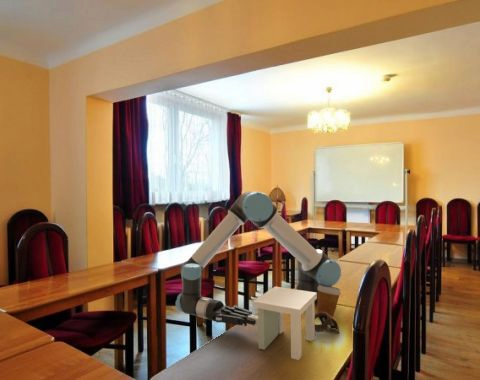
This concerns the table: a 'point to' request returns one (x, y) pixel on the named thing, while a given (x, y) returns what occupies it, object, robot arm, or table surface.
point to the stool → (291, 312)
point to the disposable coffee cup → (327, 299)
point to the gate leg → (267, 327)
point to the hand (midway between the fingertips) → (265, 323)
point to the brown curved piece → (325, 322)
